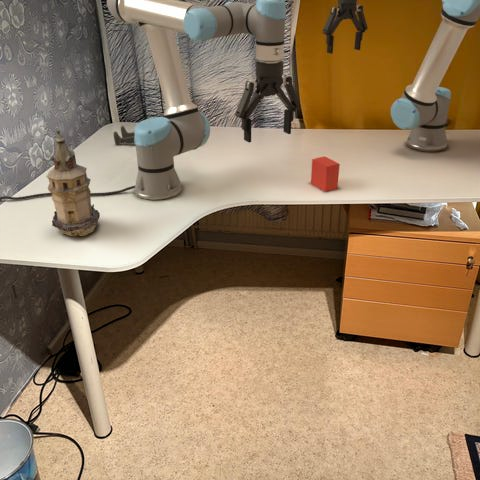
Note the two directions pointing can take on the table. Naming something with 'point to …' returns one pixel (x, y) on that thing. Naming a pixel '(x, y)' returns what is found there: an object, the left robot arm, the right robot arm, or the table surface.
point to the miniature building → (70, 193)
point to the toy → (124, 137)
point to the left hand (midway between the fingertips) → (267, 136)
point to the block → (325, 173)
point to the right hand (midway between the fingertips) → (343, 51)
